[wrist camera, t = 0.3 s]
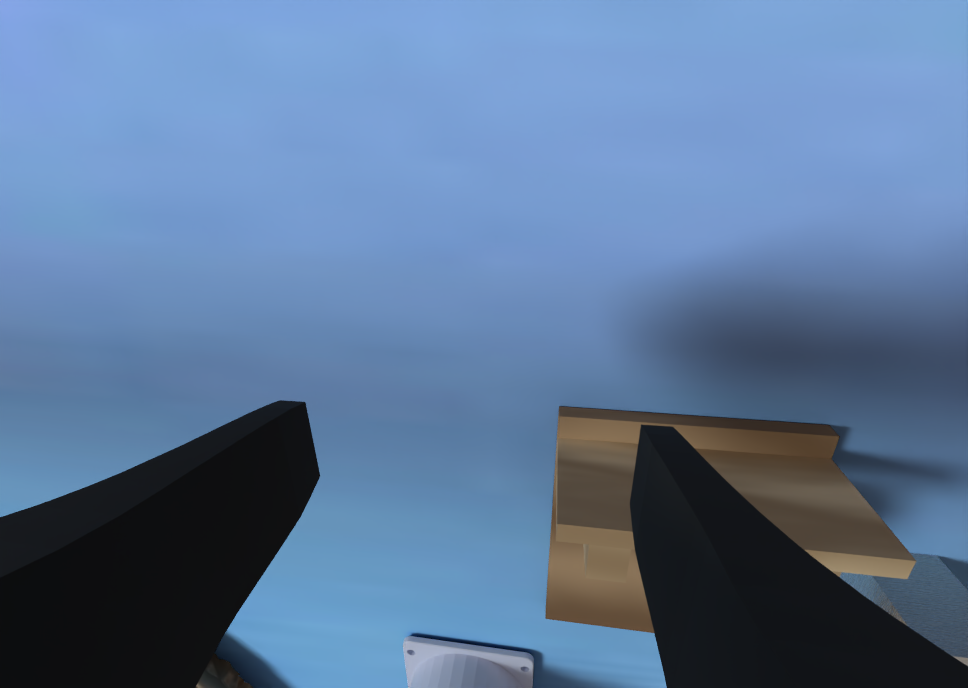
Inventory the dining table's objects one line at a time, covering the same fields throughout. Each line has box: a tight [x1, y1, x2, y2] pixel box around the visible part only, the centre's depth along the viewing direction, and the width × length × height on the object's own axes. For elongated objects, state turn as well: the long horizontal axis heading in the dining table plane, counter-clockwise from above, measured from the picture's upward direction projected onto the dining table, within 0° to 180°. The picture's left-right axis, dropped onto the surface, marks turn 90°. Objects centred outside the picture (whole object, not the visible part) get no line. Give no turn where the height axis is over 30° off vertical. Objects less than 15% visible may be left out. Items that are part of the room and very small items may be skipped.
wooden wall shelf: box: [546, 406, 916, 633], centre depth 20 cm, size 13×11×6 cm
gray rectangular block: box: [840, 553, 968, 666], centre depth 21 cm, size 9×4×5 cm, turn 1°
